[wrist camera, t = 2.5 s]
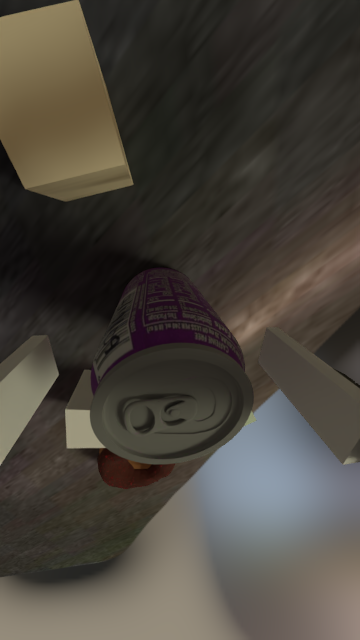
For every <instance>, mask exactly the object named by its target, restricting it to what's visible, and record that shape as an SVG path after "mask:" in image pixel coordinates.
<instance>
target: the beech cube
mask: <svg viewBox="0 0 360 640" xmlns="http://www.w3.org/2000/svg"><path fill="white" fill-rule="evenodd" d="M0 140H1V142H2V144H3V146H4V148H5V150H6V152H7V154H8V156H9V158H10V160H11V162H12V164H13V166H14V168H15V170H16V172H17V174H18V176H19V178H20V180H21V182H22V184H23V186H24V188H25V189H27V190H30V191H33V192H36V193H39V194H43V195H46V196H49V197H52V198H55V199H59V200H62V201H65V202H66V201H70V200H74V199H78V198H82V197H86V196H90V195H94V194H98V193H102V192H106V191H110V190H114V189H118V188H122V187H126V186H130V185H133V181H132V178H131V174H130V171H129V167H128V163H127V160H126V156H125V153H124V149H123V145H122V142H121V138H120V135H119V131H118V128H117V124H116V120H115V117H114V113H113V110H112V106H111V102H110V99H109V95H108V92H107V88H106V85H105V82H104V79H103V75H102V72H101V69H100V66H99V63H98V60H97V57H96V53H95V50H94V47H93V44H92V41H91V38H90V35H89V31H88V28H87V25H86V22H85V19H84V16H83V13H82V9H81V6H80V3H79V0H74V1H70V2H65V3H61V4H56V5H52V6H47V7H43V8H39V9H34V10H30V11H25V12H21V13H16V14H12V15H8V16H3V17H0Z"/></svg>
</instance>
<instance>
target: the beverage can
mask: <svg viewBox="0 0 360 640" xmlns="http://www.w3.org/2000/svg"><path fill="white" fill-rule="evenodd" d="M91 389H92V393H93V396H94V397H93V400H92V403H91V408H90V422H91V427H92V429H93V432H94V434H95V436H96V437H97V439H98V440H99V441H100V442H101V443H102V444H103V445H104V446H105V447H106V448H107V449H108V450H110V451H111V452H113V453H114V454H116V455H118V456H120V457H122V458H125V459H128V460H131V461H135V462H139V463H145V464H174V463H180V462H185V461H189V460H193V459H196V458H199V457H202V456H204V455H207V454H209V453H211V452H213V451H215V450H217V449H218V448H220V447H221V446H223V445H225V444H226V443H227V442H229V441H230V440H231V439H232V438H233V437H234V436H235V435H236V434H237V433H238V432H239V431H240V430H241V429H242V427H243V426H244V425H245V423H246V422H247V420H248V418H249V416H250V413H251V410H252V407H253V399H254V396H253V388H252V385H251V382H250V380H249V378H248V376H247V375H246V373H245V363H244V357H243V353H242V350H241V348H240V346H239V344H238V342H237V340H236V339H235V337H234V336H233V335H232V333H231V332H230V331H229V329H228V328H227V327H226V325H225V324H224V323H223V322H222V320H221V319H220V318H219V316H218V315H217V314H216V312H215V311H214V310H213V309H212V307H211V306H210V305H209V303H208V302H207V301H206V299H205V298H204V297H203V295H202V294H201V293H200V292H199V290H198V289H197V288H196V286H195V285H194V284H193V282H192V281H191V280H190V279H189V278H188V277H187V276H185V275H184V274H182V273H181V272H179V271H176V270H173V269H170V268H152V269H148V270H145V271H143V272H141V273H139V274H138V275H136V276H135V277H134V278H133V279H132V280H131V281H130V282H129V283H128V284H127V286H126V288H125V289H124V292H123V294H122V296H121V299H120V301H119V303H118V305H117V308H116V310H115V312H114V315H113V317H112V319H111V321H110V324H109V326H108V328H107V331H106V333H105V335H104V337H103V340H102V342H101V344H100V347H99V349H98V351H97V354H96V356H95V358H94V362H93V365H92V369H91Z"/></svg>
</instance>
